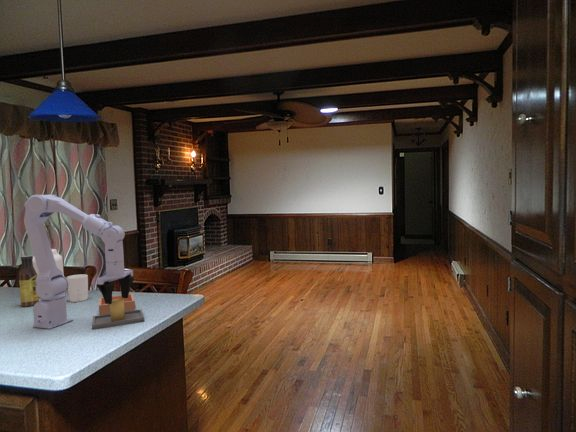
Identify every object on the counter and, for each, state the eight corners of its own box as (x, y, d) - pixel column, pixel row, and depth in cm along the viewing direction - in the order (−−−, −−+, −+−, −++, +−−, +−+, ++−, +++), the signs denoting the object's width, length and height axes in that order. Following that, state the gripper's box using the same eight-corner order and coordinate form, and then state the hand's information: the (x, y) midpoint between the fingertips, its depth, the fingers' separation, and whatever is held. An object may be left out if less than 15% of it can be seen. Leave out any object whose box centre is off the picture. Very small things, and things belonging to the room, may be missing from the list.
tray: (144, 321, 140) (144, 317, 140) (92, 329, 134) (92, 325, 134) (141, 313, 150) (141, 309, 150) (93, 320, 144) (92, 316, 144)
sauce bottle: (37, 305, 166) (33, 256, 164) (19, 307, 163) (15, 258, 162) (40, 301, 172) (37, 254, 170) (23, 303, 169) (19, 255, 168)
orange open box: (135, 311, 153) (134, 300, 152) (99, 316, 148) (98, 305, 148) (133, 303, 164) (132, 293, 163) (99, 308, 159) (99, 297, 159)
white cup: (93, 297, 176) (91, 274, 175) (82, 302, 168) (80, 278, 168) (75, 297, 177) (74, 274, 176) (64, 302, 169) (62, 278, 168)
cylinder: (117, 321, 139) (116, 302, 139) (108, 320, 141) (107, 301, 140) (127, 317, 143) (126, 299, 143) (118, 316, 145) (117, 298, 144)
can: (48, 298, 177) (45, 252, 175) (25, 297, 180) (22, 251, 179) (71, 291, 189) (68, 247, 187) (49, 290, 192) (46, 247, 191)
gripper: (107, 265, 133) (110, 307, 134) (139, 258, 146) (141, 296, 147) (90, 264, 135) (93, 305, 136) (123, 257, 149) (125, 294, 150)
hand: (117, 300), depth 142 cm, fingers open, 7 cm apart
